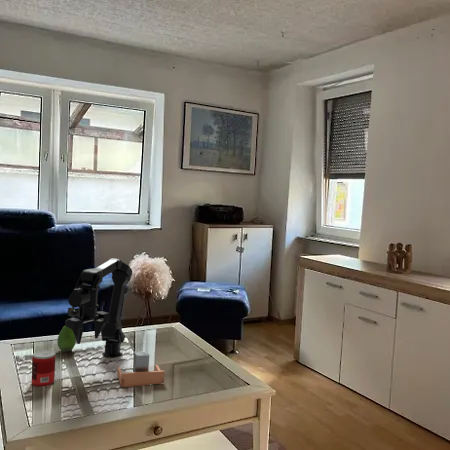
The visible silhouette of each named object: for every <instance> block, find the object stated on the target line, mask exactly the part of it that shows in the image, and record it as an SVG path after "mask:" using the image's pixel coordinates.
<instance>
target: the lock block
mask: <svg viewBox="0 0 450 450" xmlns="http://www.w3.org/2000/svg"><path fill="white" fill-rule="evenodd" d="M149 368H150V354H149V352H148V350H137V351H134V352H133V365H132V372H146V371H149Z"/></svg>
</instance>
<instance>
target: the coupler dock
mask: <svg viewBox="0 0 450 450" xmlns="http://www.w3.org/2000/svg"><path fill="white" fill-rule="evenodd" d="M154 367H155V369H154V370H152V371H149V370H148V371H146V372H133V371H132V372H130V371H129V372H122V368H121V367H120V366H119V367H117V373H116V375H117V378H118V382H119V384H120V387H121V388H132V387H142V386H143V385H146V386H151V385H150V384H160V385H162V384H161V383H164V384H165V373H166V372H165V370H162V369H161V368H160V367H159V365H158V364H155V366H154ZM143 387H144V386H143Z"/></svg>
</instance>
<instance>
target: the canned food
mask: <svg viewBox="0 0 450 450" xmlns="http://www.w3.org/2000/svg"><path fill="white" fill-rule="evenodd" d="M56 355H57V354H56V351H55V350H50V349H44V350H43V349H42V350H38V351H35V352H34V353H33V354H32V357H31V360H32V362H31V384H32V386H34V387H47V386H51V385H52V384H54V381H55V374H56V373H55V372H56V359H57V358H56Z"/></svg>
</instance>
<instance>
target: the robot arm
mask: <svg viewBox="0 0 450 450" xmlns="http://www.w3.org/2000/svg"><path fill="white" fill-rule="evenodd" d="M110 274H111V280H112V282H113V289H112V295H111V301H110V307H109V312H106V311H102V310H101V311H98V310H97V309H99V308H100V305H99V304H98V292H99V290H100V289H101V287H100V284H101V283H102V282H103V281H104V280H103V278H104V277H106V276H108V275H110ZM132 275H133V269H132V268H131V266H130V265H128V264H127V263H125V262H123V261H122V260H121V259H119V258H109V259H108V260H107V261H105V262H104V263H102V264H101V265H98V266H97V267H94V268H88V269H83V271H81V273H80V275H79V278H78V280H77V282H76V284H75V287H74V289H73V291H72V292H71V293H70V294H69V296H68V299H67V302H68V304H69V305H70V306H71V307H68V308H67V315H68V316H69V317H70V318H67V319H66V320H65V323H64V324H65V325H64V326H66V327H68V328H70V329H72V331H73V333H74V335H75V338H76V344H77V345H80V344H81V341H82V337H83V333H84V328H85V327H83V326H84V325H85V324H87V323H91V322H93V324H94V339H98V338H99V336H100V337H101V340H102V341H103V342H105V344H104V352H103V353H102V356H105V357H108V358H112V359H113V358H117V357H118V356H122V355H123V354H124V353H123V352H121V344H123V343H124V341H125V339H126V335H125V334H124V332H123V330H122V329H123V325H122V322H121V321H122V320H121V314H122V309H123V308H122V307H123V303H124V302H123V301H124V296H125V290H126V286H127V285H128V284H129V282H131V278H132ZM76 317H77V318H76Z"/></svg>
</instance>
